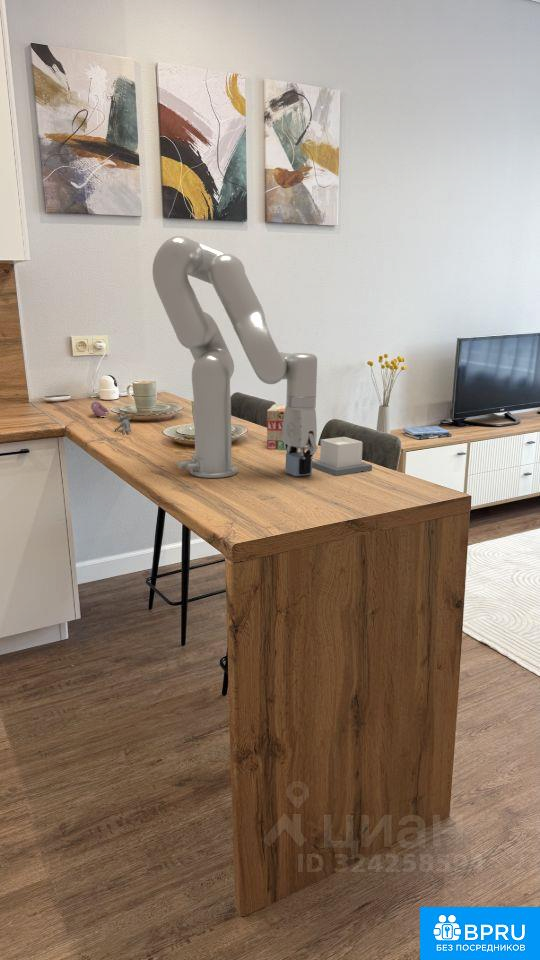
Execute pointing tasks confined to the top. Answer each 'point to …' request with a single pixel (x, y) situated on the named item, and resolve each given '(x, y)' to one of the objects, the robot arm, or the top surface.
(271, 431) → the stack of blocks
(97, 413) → the purple rounded piece
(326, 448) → the tower base
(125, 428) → the elephant figurine
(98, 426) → the top surface
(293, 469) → the top brick
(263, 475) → the top surface
